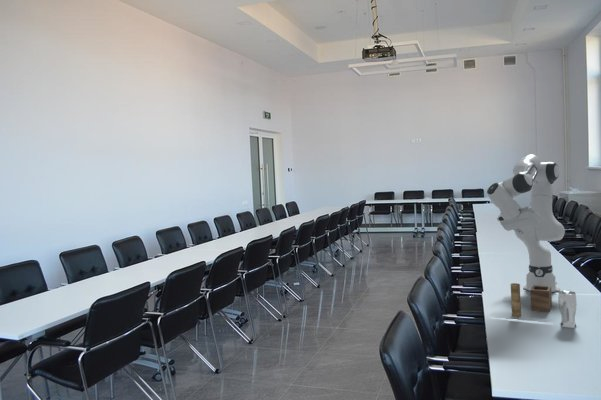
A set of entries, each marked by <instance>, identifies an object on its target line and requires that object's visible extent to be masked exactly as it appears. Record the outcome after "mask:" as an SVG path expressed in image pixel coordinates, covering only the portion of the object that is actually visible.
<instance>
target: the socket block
mask: <svg viewBox="0 0 601 400" xmlns="http://www.w3.org/2000/svg"><path fill="white" fill-rule="evenodd" d="M529 292H530V310H531V311H536V312H543V313H544V312H547V313H550V311H551V310H552V307H553V300H552V299H553V296H552V295H553V294H552V293H553V292H551V286H537V285H533V287H532V288H531V290H530V291H529Z"/></svg>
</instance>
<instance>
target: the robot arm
mask: <svg viewBox="0 0 601 400" xmlns="http://www.w3.org/2000/svg"><path fill="white" fill-rule="evenodd" d="M512 174H513V176H510V177H509V178H506V179H504V180H503V181H500V182H494V183H493V184H491V185H490V186H489V187H488V188H487V191H486V194H487V196H488V198H489V200H490V201H491V202H492V204H493V205H494V206H495V207H496V208H498V209H499V212H500V214H498V216H497V218H496V220H497V221H498V222H500V223H499V224H500V225H501V226H502V228H503V229H504V230H506V231H507V232H509V231H512V230H513V232H514V234H515V237H516V238H517V239H519V240H520V241H521V242H523V244H524V245H525V247H526V248H527V252H528V260H529V265H528V271H529V272H528V273H527V274H526V275H525V276H526V278H525V279H526V281H525V282H526V283H525V285H524V286H522V287H523V290H526V291H529V292H530V290H531V288H532V287H533V285H537V286H551V292H552V293H555V292H560V291H561V287H560V286H559V284H558V283H557V281H556V275H555V274H554V273H553V272H554V271H553V269H554V267H553V264H552V252H551V251H550V249H548V247H545V246H544V245H542V244H541V242H556V241H561V240H562V239H563V238H564V236H565V234H566V229H565V227H564V225H563V224H562V223H561V222H559V220H557V219H556V217H555V216H554V213H553V196H554V194H553V190H554V189H553V184H554V183H555V182H556V180H557V179H558V178H559V176H560V168H559V165H558V164H557V163H556V162H553V161H548V162H542V161H541V159H540V158H539V156H537V155H535V154H527V155H524V156H523V157H522V158H520V159H519V160H517V162H516V164H515V165H514V166H513V169H512ZM530 191H531V194H530V204H529V206H524V207H522V206H520V204H519V203H518V202H517V201H516V200H515V199H514V198H515V197H518V196H520V195H522V194H525V193H528V192H530Z"/></svg>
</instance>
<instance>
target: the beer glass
mask: <svg viewBox="0 0 601 400" xmlns="http://www.w3.org/2000/svg"><path fill="white" fill-rule="evenodd" d="M577 305H578V304H577V294H576V292H575V291H572V290H560V291H558V308H559V312H560V315H561V319H560V320H561V321H560V327H562V328H565V329H575V328H577V323H576V313H577V312H576V311H577V307H578V306H577Z"/></svg>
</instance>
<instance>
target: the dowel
mask: <svg viewBox="0 0 601 400" xmlns="http://www.w3.org/2000/svg"><path fill="white" fill-rule="evenodd" d="M510 300H511V301H510V302H511V316H513V317H514V318H513V319H515V320H517V317H522V305H521V301H522V300H521V284H520V283H518V282H517V283H516V282H515V283H514V282H512V283H510ZM515 317H516V318H515Z"/></svg>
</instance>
